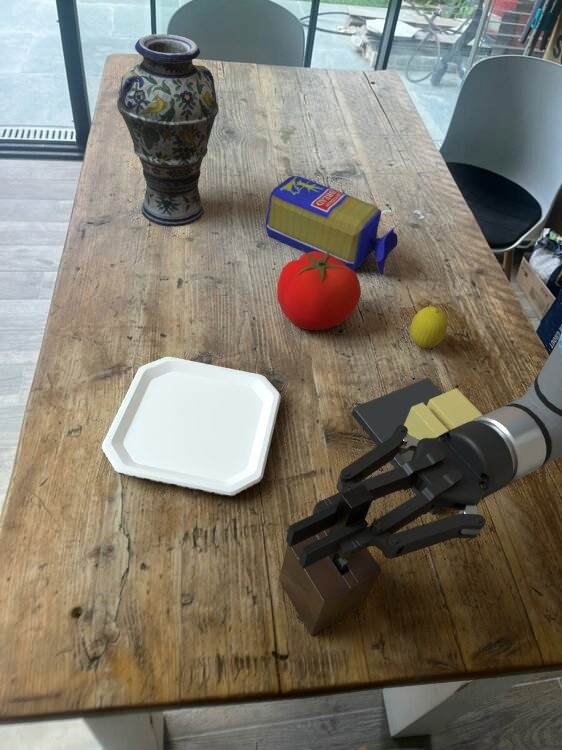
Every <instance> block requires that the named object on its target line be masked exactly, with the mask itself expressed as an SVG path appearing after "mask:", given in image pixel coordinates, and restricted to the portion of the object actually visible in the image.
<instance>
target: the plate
mask: <svg viewBox="0 0 562 750" xmlns="http://www.w3.org/2000/svg"><path fill="white" fill-rule="evenodd" d="M281 400H282V396H281V393H280V391H279V390H278V389H277V388H276V387H275V386H274V385H273V384H272V383H271V382H270V380H269V379H268V378H267V377H266V376H264V375H263V374H259V373H254V372H250V371H244V370H240V369H239V370H238V369H234V368H228V367H223V366H218V365H215V364H208V363H203V362H199V361H193V360H189V359H183V358H178V357H173V356H164V357H161V358H159V359H157V360H154V361H151V362H149V363H145V364H144V365H142V366H140V367H138V370H137V371H136V373H135V376H134V378H133V380H132V382H131V384H130V386H129V388H128V390H127V393H126V394H125V395H124V398H123V401H122V402H121V404H120V406H119V409H118V411H117V413H116V415H115V417H114V419H113V421H112V422H111V423H112V424H111V425H110V427H109V429H108V432H107V434H106V436H105V438H104V440H103V441H102V444H101V447H102V452H103V453H104V455H105V456H106V458H107V460H108V461H109V463H110V465H111V467H112V468H113V470H114V472H116V473H117V474H119V475H123V476H126V477H127V476H128V477H132V478H138V479H141V480H142V479H143V480H147V481H151V482H155V483H161V484H167V485H171V486H175V487H181V488H184V489H185V488H187V489H190V490H195V491H200V492H201V491H202V492H206V493H209V494H213V495H214V494H215V495H219V496H224V497H235V496H236V495H239V494H240V493H242V492H244V491H246V490H247V489H249V488H252V487H253V486H255V485H257V484H259V483H260V482H262V480H263V478H264V473H265V469H266V465H267V460H268V455H269V452H270V446H271V443H272V438H273V434H274V429H275V425H276V421H277V417H278V412H279V407H280V403H281Z"/></svg>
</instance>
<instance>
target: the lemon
mask: <svg viewBox="0 0 562 750" xmlns="http://www.w3.org/2000/svg"><path fill="white" fill-rule="evenodd" d="M447 330H448V318H447V315H446V313H445V312H444V311H443V310H442V309H440V307H437V306H426V307H423V308H421V309H420V310H419V311H418V312H416V315H414V317H413V318H412V321H411V323H410V329H409V333H410V337H411V339H412V341H413V342H414V344H416V345H417V346H418V347H420V348H423V349H431V348H434V347H436V346H438V345H439V344H440V343H441V342H442V341H443V340H444V338H445V336H446V334H447Z"/></svg>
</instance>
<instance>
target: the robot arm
mask: <svg viewBox="0 0 562 750" xmlns="http://www.w3.org/2000/svg"><path fill="white" fill-rule="evenodd" d="M407 433H408V428H407V427H406V426H404V425H399V426H397V428H396V429H395V431H394V433H393V434H392V436H391V437H390V438H389V439H387V440H386V441H384V442H383V443H381V444H380V445H378V446H377V445H376V446H375V447H374V448H373V449H370V451H368V452H366V453H364V454H363V455H362V456H360V457H359V458H356V460H354V461H353V462H351V463H350V464H348V465H347V466H345V467H344V468H342V469H341V470H340V473H339V475H338V479H337V482H336V486H335V487H336V490H337V491H338V492H337V493H335V494H333V495H331V496H328V497H326V498H323V499H321V500H320V501H317V502H316V504H315V505H314V507H313V510H312V514H311V515H308V516H307V517H305V518H303V519H300V520H299V521H296V522H295V523H292V524H289V525H288V529H287V534H286V539H285V542H286V543H287V544H288V545H289V547H292V546H294V545H296V544H298V543H300V542H302V541H304V540H306V539H308V538H310V537H312V536H314V535H316V534H318V533H320V532H322V531H324V530H326V529H328V528H330V527H331V524H332V521H333V518H334V515H335V512H336V509H337V506H338V503H339V500H340V497H341V494H343V493H345V492H347V491H349V490H351V489H353V488H356V487H358V486H360V485H362V484H364V485H365V487H366V488H367V489H368V491H369V492H370V493H371V495H372V496H373V497H374V498H373V501H376V500H378V499H381V498H383V497H386V496H388V495H391V494H394V493H397V492H399V491H402V490H403V491H408V490H411V488H413V487H414V488H416V489H417V490H418V491H419V492H420V493H419V494H417V495H416V494H415V495H414V496H412V497H410V498H409V499H408V500H406V501H404V502H403V503H401V504H400V505H397V506H396V507H395V508H393V509H392V510H389V511H388V512H386V513H385V514H384V515H382V516H380V517H378V518H376V517H374V518H373V520H372V522H371V524H370V525H369V522H368V521H367V519H366V518H362V519H360V520H358V521H356V522H354V523H352V524H350V525H348V526H346V527H343V528H341V529H339V530H337V531H335V532H333V533H331V534H329V535H327V536H325V537H323V538H321V539H319V540H317V541H315V542H313V543H311V544H309V545H307V546H305V547H303V549H302V552H301V556H300V559H299V563H300V565H301V566H302V568H303V569H304V568H306V567H308V566H310V565H312V564H314V563H316V562H318V561H320V560H322V559H324V558H326V557H327V556H329V555H331V554H333V553H335V552H338V554H339V555H340V557H341V558H348V557H350V556H352V555H354V554H356V553H358V552H360V551H362V550H364V549H366V548H367V549H368V548H369V547H374V548H377V549H379V550H380V551H381V552H382V555H383V556H384V558H385V559H388V560H393V559H396V558H399V557H402V556H405V555H408V554H411V553H414V552H417V551H421V550H423V549H426V548H429V547H432V546H436V545H438V544H441V543H444V542H447V541H450V540H454V539H476V538H477V536H479V534H480V533H481V531H482V529H483V528H484V527H485V525H486V523H487V520H486V518H485V517H484V515H482V514H479V511H478V508H477V507H478V504H479V503H480V502H481V500H483V499H485V498H487V497H489V496H491V495H492V494H495V493H496V492H498V491H500V490H502V489H503V488H505V487H507V486H508V485H510V484H512V483H514V482H516V481H518V480H520V479H522V478H524V477H526V476H528V475H530V474H531V473H534V472H535V471H537V470H539V469H540V468H542V467H544V466H546V465H548V464H549V463H551V462H553V461H555V460H558V459H559V458H562V332H561V333H560V335H559V338H558V341H557V342H556V344H555V345H554V348H553V349H552V350H551V352H550V355H549V356H548V358H547V360H546V361H545V363H544V364H543V366H542V368H541V369H540V371H538V374H537V375H536V376H535V378H534V379H533V381H532V383H531V385H530V386H529V388H528V390H527V391H526V393H525V394H524V395H522V396H521V397H519V398H518V399H516V400H513V401H511V402H509V403H506V404H505V405H503V406H500V407H498V408H496V409H494V410H492V411H489V412H487V413H484V414H482V416H479V417H477V418H475V419H473V420H472V421H470V422H467V423H464V424H462V425H460V426H458V427H456V428H453V429H451V430H449V431H447V432H445V433H443V434H441V435H440V436H438V437H436V438H423V439H421V440H419V439H417V438H415V437H413V436H411V435H409V434H407ZM407 451H414V453H413V456H412V459H411V461H408V462H406V463H405V464H404V465H403V466H401V467H398V468H396V469H395V468H393V469H390V470H388V471H385V472H382V473H380V474H377V475H374V476H372V477H370V476H371V475H373V474H374V473H376V472H377V471H379V470H380V469H381V468H382V467H384V466H385V465H387V464H388V463H390V461H391V460H392V459H393V458H394V457H395V456H396V455H397V453H398V454H399V455H402V454H404V453H406V452H407ZM436 507H441V508H442V509H447V510H454V511H455V510H456V511H458V513H456V514H453V515H449V516H446V517H443V518H440V519H436V520H434V521H430V522H427V523H424V524H420V525H417V526H414V527H411V528H407V529H404V530H402V529H403V528H404V527H406V526H407V525H409V524H411V523H412V522H414V521H415V520H417V519H418V518H420V517H422V516H425V515H427V514H429V513H430V511H432V510H433V509H435V508H436ZM400 530H402V531H400Z"/></svg>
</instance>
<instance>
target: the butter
mask: <svg viewBox="0 0 562 750" xmlns="http://www.w3.org/2000/svg"><path fill="white" fill-rule="evenodd" d="M427 408H428V409H429V410H430V411H431V412H432V413H433V414H434V415H435V416H436V417H437V419H438V420H439V421H440V422H441V423H442V424H443V425H444V426H445V427H446V428H447V430H448V431H449V430H451V429H453V428H456V427H458V426H460V425H462V424H464V423H467V422H470V421H472V420H473V419H475V418H477V417H479V416H482V415H483V413H482V412H481V411H480V410H479V409H478V408H477V407H476V405H474V404H473V403H472V402H471V401H470V400H469V399H468V398H467V397H466V396H465V394H463V393H462V392H461V391H460V390H459V389H458V388H453V389H451V390H448V391H446V392H443V394H442V395H439V396H437V397H434V398H432V399H430V400H429V402H428V405H427Z"/></svg>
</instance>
